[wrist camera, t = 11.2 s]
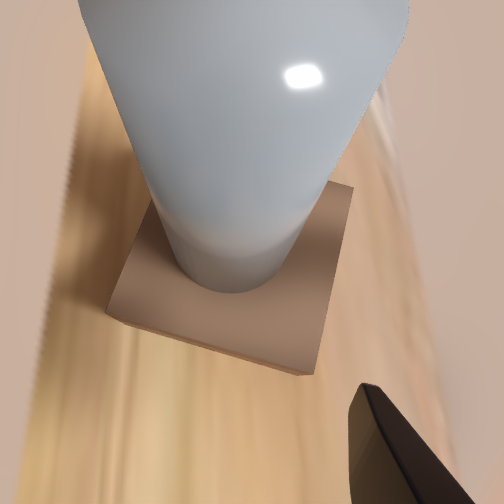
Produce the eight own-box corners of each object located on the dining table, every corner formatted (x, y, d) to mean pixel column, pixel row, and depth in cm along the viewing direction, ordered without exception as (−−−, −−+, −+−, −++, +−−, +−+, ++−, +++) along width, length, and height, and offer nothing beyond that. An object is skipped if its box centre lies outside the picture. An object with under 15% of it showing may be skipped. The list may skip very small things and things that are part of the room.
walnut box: (297, 375, 21) (313, 374, 17) (125, 324, 21) (104, 312, 18) (333, 217, 24) (353, 187, 21) (184, 174, 25) (177, 137, 21)
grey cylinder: (273, 308, 18) (382, 161, 6) (153, 273, 18) (13, 58, 6) (301, 199, 20) (426, -81, 8) (192, 169, 20) (148, -156, 8)
